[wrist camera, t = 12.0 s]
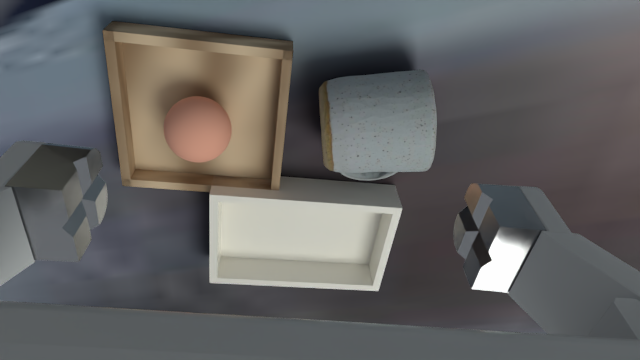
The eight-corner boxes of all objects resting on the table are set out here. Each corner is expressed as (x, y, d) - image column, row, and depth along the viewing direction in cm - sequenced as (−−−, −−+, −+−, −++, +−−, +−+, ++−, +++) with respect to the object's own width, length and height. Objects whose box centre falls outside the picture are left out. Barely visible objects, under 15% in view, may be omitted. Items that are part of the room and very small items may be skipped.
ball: (237, 89, 36) (226, 119, 32) (235, 144, 39) (225, 178, 35) (171, 81, 36) (152, 110, 32) (174, 138, 39) (157, 171, 34)
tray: (292, 41, 35) (293, 51, 33) (278, 182, 42) (278, 196, 40) (112, 20, 33) (102, 30, 32) (129, 171, 41) (122, 185, 39)
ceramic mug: (313, 64, 36) (318, 109, 30) (418, 53, 36) (445, 96, 30) (323, 175, 42) (330, 232, 36) (413, 166, 42) (435, 221, 36)
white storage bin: (394, 185, 43) (402, 208, 40) (373, 265, 49) (378, 291, 46) (214, 171, 41) (209, 194, 38) (214, 256, 47) (209, 282, 44)
